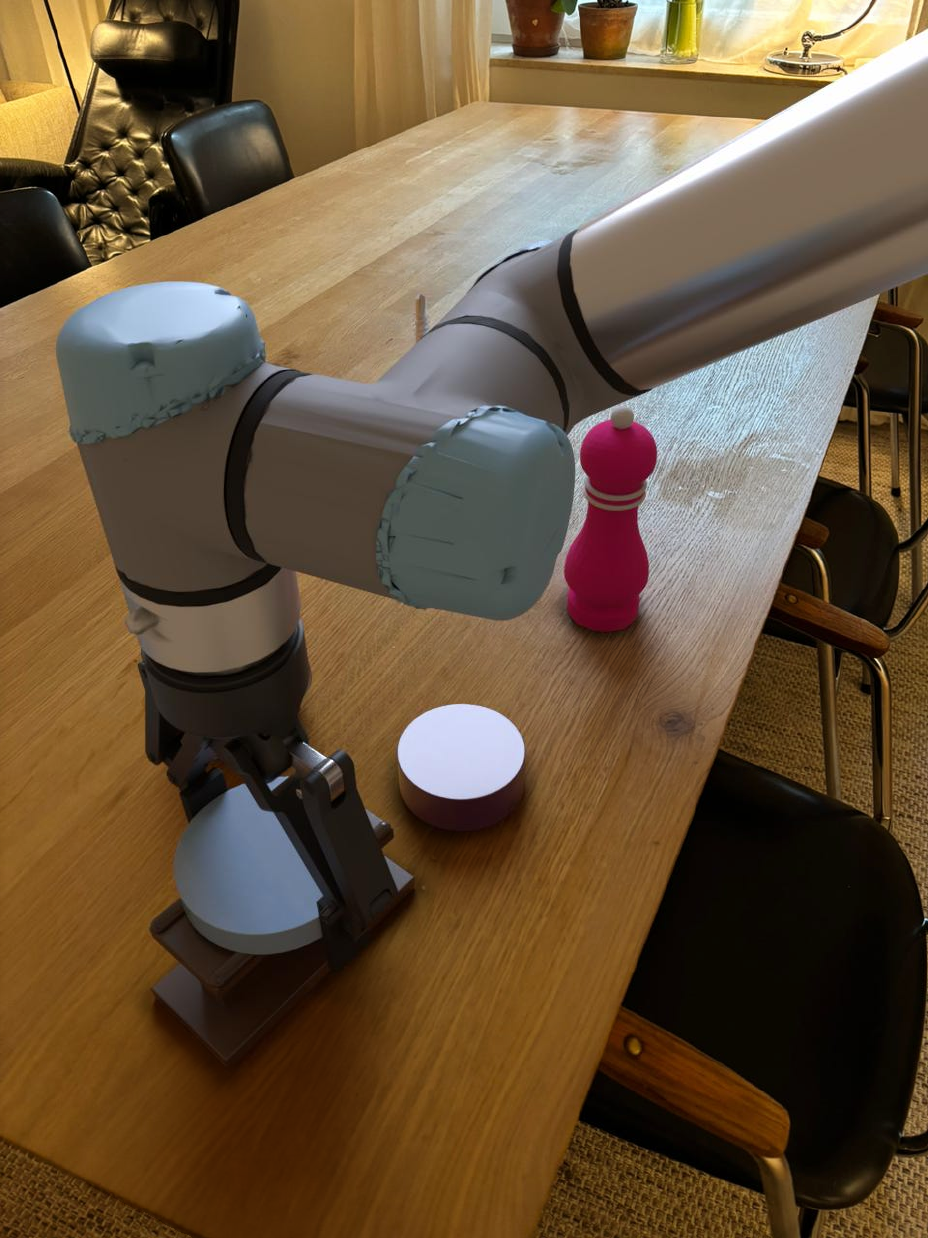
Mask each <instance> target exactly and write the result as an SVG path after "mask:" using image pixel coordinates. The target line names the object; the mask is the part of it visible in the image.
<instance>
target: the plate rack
mask: <svg viewBox="0 0 928 1238" xmlns="http://www.w3.org/2000/svg"><path fill="white" fill-rule="evenodd" d="M365 810H366V812H367V815H368V817H369V820H370V822H371V825H372V827H373V830H374V832H375V835H376V837H377V839H378V842H379V844H380V847H381V849H382V850H383V849H384V848H385V847H386V846H387V845H388V844H389V843H390V842H391V841H393V840H394V838H395V832H394V827H392V825H391V824H390V823H389V822H388V821H385V820H383V819H382V818H379V817H378V816H376V815H375V814H374V813H373V812H371V811H369V810H368V809H367V808H365ZM384 857H385V859H386V862H387V864H388V867H389V869H390V872H391V874H392V877H393V879H394V882H395V884H396V886H397V889H398V892H399V896H398V897H397V898H396V899H395V900H394V901H393V902H392V903H391V904H390V905H389V906H388V907H387V908H386V909H384V910H383V911H382V912H381V913H380V914H379V915H378V916H377V917H376V918H375V919H374V920H373V924H372V925H371V927H370V928H369V933H370V932H371V931H372V930H374V928H375V927H377V925H378V924H379V923H380V922H381V921H382V920H383V919H384V918H385V917H386V916H388V915H389V913H390V912H391V911H393V910H394V909H395V907H397V906H398V904H399V903H401V902H402V901H403V900H404V899H405V897H407V896H408V895H409V894H410V893H411V892H412V891H413V890H414V889H415V877H414V875H412V874H411V873H409V872H408V871H406V870H405V869H403V868H402V867H401V866H399V865H398V864H397V863H395V862H394V861H393V860H391V859H389V857H387V856H386V855H384ZM148 929H149V932H150V934H151V937H152V939H154V940H155V941H156V942H157V943H158V944H159V945H160V946H161V947H162V948H163V949H164V950H166V952H168V953H169V955H171V956H172V957H173V958H174V959H175V960H176V961H177V962H178V964H177V965H175V966H174V967H173V968H172V969H171V970H170V971H169V972H168V973H167V974H165V975H164V976H163V977H162V978H161V979H159V981H157V982H156V983H155V984H154V985H153V986H152V987H151V992H152V994H153V997H154V998H155V1000H156V1001H157V1002H158V1003H159V1004H160V1005H161V1006H162V1007H164V1009H165V1010H166V1011H167V1012H168V1013H169V1014H171V1016H172V1017H174V1019H175V1020H177V1021H178V1022H179V1023H180V1024H181V1025H182V1026H183V1027H184V1029H186V1031H188V1032H189V1033H190V1034H191V1035H192V1036H193V1037H194V1038H195V1040H197V1041H198V1042H199V1043H200V1044H201V1045H202V1046H203V1047H204V1048H205V1049H206V1050H207V1051H208V1052H209V1053H210V1054H211V1055H212V1056H214V1058H215V1059H216V1060H217V1061H219V1062H220V1063H221V1064H222V1066H223V1067H225V1068H226V1069H227V1070H228V1071H229V1070H231V1069H232V1068H233V1067H234V1066H235V1065H236V1064H237V1063H238V1062H239V1061H240V1060H241V1059H242V1058H243V1057H245V1056H246V1054H248V1052H250V1050H251V1049H252V1048H253V1047H255V1046H256V1045H257V1043H259V1041H261V1039H263V1038H264V1037H265V1036H266V1035H267V1033H269V1032H270V1031H271V1030H272V1029H273V1028H274V1027H275V1026H276V1025H277V1024H278V1023H279V1022H280V1021H281V1020H282V1019H283V1018H284V1017H285V1016H286V1015H288V1013H289V1012H290V1011H291V1010H292V1009H293V1008H294V1007H295V1006H297V1004H298V1003H299V1002H300V1001H301V1000H302V999H303V998H304V997H305V996H306V995H307V994H308V993H309V992H311V990H312V989H313V988H315V986H316V985H318V983H319V982H320V981H322V979H323V978H325V977H326V975H327V974H329V972H331V971H332V970H331V969H330V968H329V967H328V962H327V957H326V951H325V946H324V940H323V937H321V938H319V939H318V940H316V941H314V942H312V943H310V944H308V945H305V946H302V947H300V948H297V949H294V950H290V951H286V952H282V953H275V954H260V955H256V954H245V953H240V952H236V951H231V950H229V949H226V948H223V947H221V946H219V945H217V944H215V943H213V942H211V941H210V940H208V939H207V938H206V937H204V936H203V935H202V934H201V933H200V932H199V931H198V930H197V929H196V928H195V927H194V926H193V925H192V923H191V922H190V920H189V919H188V917H187V915H186V913H185V910H184V908H183V905H182V902H181V899H180V897H179V898H178V899H177V900H175V901H174V902H172V903H171V904H170V905H169V906H168V907H167V908H166V909H164V910H163V911H161V912H160V913H159V914H158V915H157V916H155V917H154V919H152V920H151V923H150V927H149V928H148Z"/></svg>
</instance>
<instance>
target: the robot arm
mask: <svg viewBox="0 0 928 1238" xmlns="http://www.w3.org/2000/svg"><path fill="white" fill-rule="evenodd" d="M926 275H928V28H926V29H925V30H923V31H922V32H920V33H917V34H916V35H914V36H913V37H911V38H909V39H907V40H906V41H904V42H902V43H900V44H898V45H897V46H895V47H893V48H891V49H890V50H888V51H886V52H884V53H882V54H881V55H879V56H877V57H875V58H873V59H872V60H870V61H868V62H866V63H864V64H863V65H862V66H859V67H858V68H856V69H854V70H852V71H851V72H849V73H847V74H846V75H844V76H842V77H840V78H838V79H837V80H835V81H833V82H831V83H830V84H827V85H826V86H824V87H822V88H821V89H818V90H817V91H815V92H814V93H812V94H809V95H808V96H807V97H805V98H803V99H801V100H799V101H798V102H796V103H794V104H792V105H791V106H789V107H787V108H786V109H783V110H782V111H780V112H778V113H777V114H775V115H773V116H771V117H770V118H768V119H765V120H764V121H763V122H761V123H759V124H757V125H755V126H754V127H751V128H750V129H748V130H747V131H744V132H743V133H740V134H739V135H738V136H736V137H734V138H732V139H731V140H729V141H727V142H725V143H724V144H722V145H720V146H717V147H716V148H715V149H713V150H711V151H709V152H708V153H706V154H704V155H702V156H700V157H699V158H697V159H695V160H693V161H691V162H690V163H688V164H686V165H684V166H683V167H681V168H679V169H677V170H676V171H674V172H672V173H671V174H669V175H667V176H665V177H664V178H662V179H660V180H657V181H656V182H655V183H652V184H651V185H649V186H648V187H646V188H644V189H642V190H640V191H638V192H637V193H635V194H633V195H632V196H630V197H628V198H626V199H625V200H623V201H621V202H619V203H618V204H615V205H613V206H612V207H611V208H608V209H607V210H605V211H604V212H602V213H600V214H598V215H597V216H594V217H593V218H591V219H589V220H587V221H585V222H583V223H582V224H580V226H579V227H578V228H576V229H574V230H572V231H570V232H568V233H566V234H564V235H562V236H560V237H558V238H556V239H548V240H547V239H546V240H538V241H534V242H531V243H528V244H526V245H524V246H522V247H520V248H518V249H516V250H515V251H514V252H512V253H510V254H508V255H507V256H505V257H504V258H501V259H500V260H498V261H497V262H496V263H494V264H493V265H492V266H490V267H489V268H486V270H484V272H482V273H481V274H480V275H479V276H478V277H477V278H476V280H475V282H474V283H473V285H472V286H471V287H470V288H469V289H468V291H466V294H465V295H464V296H463V297H462V298H461V299H460V300H459V301H458V302H457V303H456V304H455V305H454V306H452V307H451V308H450V310H449V311H448V312H446V314H444V315H443V317H442V318H441V319H439V321H438V322H437V323H436V324H434V325H433V326H432V328H430V329H429V330H430V331H429V332H427V333H426V334H425V335H424V336H423V337H422V338H421V339H420V340H419V341H418V342H417V343H416V342H415V343H416V344H415V343H414V344H415V345H414V344H413V346H412V347H411V348H410V349H409V350H408V351H406V353H404V354H403V356H402V357H400V358H399V359H398V360H397V361H396V362H395V363H394V364H393V365H392V366H391V367H390V368H389V369H388V370H387V371H385V373H383V374H382V375H381V376H380V377H379V378H378V380H377V381H375V382H373V383H363V382H358V381H353V380H348V379H343V378H337V377H332V376H327V375H322V374H318V373H317V374H316V373H311V372H305V371H300V370H298V369H294V368H290V367H284V366H279V365H274V364H271V363H268V362H267V361H266V358H267V355H266V354H267V353H266V347H265V345H266V341H265V340H263V339H262V337H261V336H260V331H259V327H258V322H257V318H256V314H255V313H254V311H253V309H252V308H251V307H250V305H249V304H248V303H247V302H246V301H245V300H243V299H242V298H240V297H238V296H237V295H232V294H231V293H230V292H229V290H227V289H225V288H223V287H221V286H219V285H218V286H217V285H214V284H209V283H204V282H199V281H185V280H183V281H179V280H177V281H174V280H173V281H171V280H170V281H158V282H151V283H144V284H137V285H133V286H127V287H124V288H121V289H118V290H114V291H111V292H108V293H106V294H103V295H101V296H99V297H97V298H96V299H94V300H93V301H91V302H89V303H87V304H85V305H84V306H83V307H79V308H78V309H76V311H75V312H73V313H72V314H71V315H70V316H69V317H68V319H66V321H64V323H63V325H62V327H61V329H60V330H59V332H58V334H57V338H56V343H55V357H56V363H57V366H58V371H59V377H60V381H61V386H62V391H63V395H64V401H65V406H66V410H67V416H68V419H69V420H68V421H69V428H68V430H69V431H68V432H69V436H70V438H71V440H72V442H73V443H76V446H77V448H78V452H79V455H80V458H81V461H82V465H83V468H84V471H85V475H86V477H87V481H88V483H89V486H90V490H91V493H92V496H93V500H94V503H95V507H96V509H97V513H98V516H99V519H100V522H101V525H102V529H103V532H104V535H105V538H106V541H107V544H108V548H109V551H110V554H111V557H112V561H113V563H114V568H115V571H116V574H117V576H118V578H119V582H120V585H121V590H122V593H123V596H124V599H125V603H126V605H127V610H128V612H129V614H128V615H127V616H126V618H125V621H124V624H125V626H126V628H127V630H128V631H129V634H133V635H135V636H136V638H137V642H138V645H139V646H140V655H141V661H140V662H138V663H137V669H138V672H139V673H138V674H139V676H140V679H141V682H142V686H143V688H144V752H145V754H146V758H147V760H148V761H149V762H150V763H152V765H154V766H157V767H158V766H160V765H161V764H163V763H164V765H165V766H166V767H167V770H166V772H165V773H166V777H167V779H168V781H169V783H170V784H172V785H173V786H175V788H178V790H179V797H180V801H181V804H182V807H183V811H184V813H185V817H186V821H187V824H189V823H190V822H191V820H192V819H193V818H194V817H195V816H196V815H197V814H198V812H199V811H200V810H201V809H202V808H204V807H205V806H206V805H207V804H208V803H210V802H211V801H212V800H214V799H215V798H217V797H218V796H219V795H221V794H223V793H225V792H227V791H228V790H229V789H228V786H227V781H226V777H225V773H224V771H223V770H221V769H220V768H218V767H217V766H216V765H214V766H213V767H212V768H210V769H209V770H208V771H207V768H208V767H209V766H210V765H211V764H212V763H214V762H215V761H217V760H220V761H221V762H222V763H224V764H225V765H227V766H228V767H229V769H230V770H231V771H232V772H233V773H236V774H238V775H239V777H240V778H241V780H242V781H243V784H246V786H247V788H248V789H249V791H250V793H251V794H252V796H253V798H254V799H255V801H256V803H257V804H258V806H259V808H260V809H261V810H264V811H268V812H273V813H274V814H275V816H276V818H277V819H278V821H279V823H280V824H281V826H282V828H283V829H284V831H285V833H286V834H287V836H288V838H289V840H290V841H291V843H292V845H293V846H294V848H295V850H296V851H297V853H298V855H299V856H300V858H301V860H302V861H303V863H304V865H305V866H306V868H307V870H308V871H309V873H310V875H311V876H312V878H313V880H314V881H315V883H316V885H317V886H318V888H319V890H320V892H321V893H322V895H323V896H322V897H321V898H320V899H319V900H318V901H317V902H316V903H317V908H318V913H319V914H318V915H319V919H320V924H321V930H322V935H323V940H324V946H325V951H326V957H327V962H328V967H329V968H330V969H331V970H330V971H332V972H334V973H335V974H336V975H339V974H340V973H341V972H342V971H343V970H344V969H346V967H347V966H348V965H349V964H350V963H351V962H352V961H353V960H354V959H355V958H356V957H357V956H359V954H360V953H361V952H362V951H363V950H364V949H366V947H368V945H370V943H371V935H370V932H369V928H370V927H371V925H372V924H373V920H374V919H375V918H376V917H377V916H378V915H379V914H380V913H381V912H382V911H383V910H384V909H386V908H387V907H388V906H389V905H390V904H391V903H392V902H393V901H394V900H395V899H396V898H397V897H398V896H399V892H398V889H397V886H396V884H395V882H394V879H393V877H392V874H391V872H390V869H389V867H388V864H387V862H386V859H385V857H384V856H385V855H384V852H383V848H382V849H381V847H380V844H379V842H378V839H377V837H376V835H375V832H374V830H373V827H372V825H371V822H370V820H369V817H368V815H367V812H366V810H365V809H366V807H365V805H364V803H363V800H362V798H361V795H360V793H359V790H358V788H357V787H358V785H357V779H356V770H355V764H354V761H353V759H352V757H351V756H350V755H349V754H348V753H347V752H346V751H345V750H343V749H341V748H340V749H339V748H338V749H337V750H335V751H334V752H333V753H332V754H331V755H329V756H328V757H326V756H325V755H323V754H321V753H320V752H319V751H318V750H316V749H314V748H313V747H312V746H311V745H310V738H309V734H308V733H307V731H306V729H305V727H304V725H303V723H302V720H301V718H300V715H299V714H300V710H301V706H302V704H303V701H304V697H305V696H306V694H305V692H306V689H307V686H308V683H309V677H310V668H309V663H310V660H309V654H308V649H307V642H306V636H305V629H304V628H305V627H304V622H303V620H302V616H301V614H302V600H301V594H300V588H299V584H298V583H299V582H298V576H297V573H299V574H304V575H307V576H311V577H314V578H318V579H321V580H324V581H328V582H332V583H335V584H339V585H341V586H346V587H350V588H353V589H356V590H360V591H364V592H366V593H370V594H374V595H378V596H381V597H384V598H388V599H390V600H395V601H396V602H397V603H402V604H403V605H404V606H407V607H413V608H415V609H416V610H423V611H426V610H427V609H433V610H441V611H446V612H451V613H456V614H461V615H464V616H465V615H466V616H471V617H475V618H481V619H486V620H492V621H499V622H501V621H502V622H503V621H510V620H513V619H516V618H519V617H521V616H522V615H524V614H526V613H527V612H528V611H530V610H531V609H532V608H533V607H534V606H535V605H536V604H537V603H538V601H539V600H540V599H541V597H542V596H543V595H544V593H545V592H546V589H547V588H548V586H549V584H550V582H551V581H552V580H551V579H552V578H553V575H554V571H555V567H556V564H557V559H558V556H559V555H560V553H561V552H562V551H563V547H564V544H565V541H566V537H567V533H568V529H569V525H570V521H571V517H572V510H573V504H574V498H575V489H576V487H575V486H576V457H575V453H574V448H573V445H572V443H571V440H570V438H569V437H568V436H569V434H570V433H571V432H572V430H573V428H574V427H575V426H576V425H578V424H579V423H580V422H582V421H584V420H585V419H587V418H589V417H591V416H594V415H596V414H599V413H602V412H603V411H606V410H608V409H611V408H613V407H615V406H616V407H617V406H618V405H621V404H623V403H624V402H628V401H630V400H633V399H635V398H637V397H640V396H641V395H644V394H647V393H648V392H651V391H653V390H654V389H655V388H658V387H660V386H663V385H666V384H667V383H669V382H672V381H675V380H677V379H680V378H681V377H684V376H687V375H689V374H692V373H693V372H696V371H698V370H701V369H703V368H706V367H708V366H711V365H714V364H715V363H718V362H720V361H722V360H725V359H728V358H731V357H732V356H735V355H737V354H739V353H742V352H744V351H747V350H748V349H751V348H753V347H756V346H758V345H761V344H763V343H765V342H768V341H770V340H772V339H775V338H778V337H781V336H782V335H785V334H788V333H789V332H793V331H794V330H797V329H799V328H801V327H804V326H806V325H808V324H811V323H813V322H816V321H818V320H821V319H823V318H825V317H828V316H830V315H833V314H835V313H838V312H840V311H843V310H845V309H847V308H851V307H852V306H854V305H856V304H859V303H861V302H864V301H866V300H869V299H871V298H874V297H876V296H878V295H880V294H883V293H885V292H888V291H890V290H892V289H895V288H898V287H900V286H902V285H905V284H907V283H909V282H912V281H914V280H917V279H918V278H921V277H923V276H926ZM304 695H305V696H304ZM291 768H293V769H295V771H294V772H293V773H292V774H290V775H289V776H287V777H288V778H287V779H286V780H284V781H283V782H282V783H281V784H279V785H278V786H277V787H276V788H274V789H273V790H272V791H271V790H270V788H269V787H268V785H267V784H268V783H271V782H273V781H274V780H275V779H277V778H278V777H281V776H282V775H283V774H285V773H286V772H287V771H288V770H290V769H291Z"/></svg>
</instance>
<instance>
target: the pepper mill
mask: <svg viewBox="0 0 928 1238" xmlns="http://www.w3.org/2000/svg"><path fill="white" fill-rule="evenodd" d="M634 420H635V414H634V411H633V410H632V409H631V408H630V407H629V406H627V405H619V406H618V405H617V406H616V407H615V408H613V410H612V412H611V413H610V418H609V419H607V420H603V421H601V422H599V423H597V424H595V425H594V426H593V427H592V428H590V429H589V430H588V432H587V433H586V434H585V436H584V438H583V440H582V442H581V446H580V451H579V462H580V463H579V464H580V466H581V469H582V471H583V472H584V474H585V476H584V478H583V479H584V480H583V485H584V486H583V490H582V493H583V496H584V498H585V499H586V501H587V510H586V514H585V515H586V516H585V518H584V523H583V525H582V527H581V529H580V531H579V533H578V534H577V535H576V537H575V539H574V540H573V542H572V543H571V545H569V549H568V551H567V554H566V556H565V561H564V567H563V576H564V581H565V582H566V585H567V586H568V587H569V588H568V591H567V601H566V610H567V613H568V615H569V616H570V618H571V619H572V620H573V621H574V622H575V623H576V624H578V626H580V627H583V628H585V629H587V630H590V631H595V632H600V633H601V632H603V633H609V632H610V633H611V632H617V631H620V630H623V629H626V628H627V627H629V626H630V625H631V624H632V623H634V622H635V621H636V618H637V617H638V614H639V607H640V601H641V599H640V594H641V593H642V592H643V591H644V589H645V588H646V586H647V584H648V581H649V575H650V574H649V573H650V563H649V558H648V552H647V549H646V546H645V544H644V541H643V539H642V536H641V533H640V529H639V522H638V520H639V519H638V517H639V516H638V515H639V513H638V512H639V506H641V504H643V502H644V501H645V499H646V497H647V496H646V495H647V491H646V490H647V487H648V480H647V479H648V478H649V477H650V476H651V475H652V474H653V473H654V470H655V469H656V466H657V462H658V447H657V443H656V440H655V438H654V436H653V434H652V433H651V432H650V431H649V430H648V428H646V427H645V426H644V425H643V424H641V423H638V422H637V421H634Z"/></svg>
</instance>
